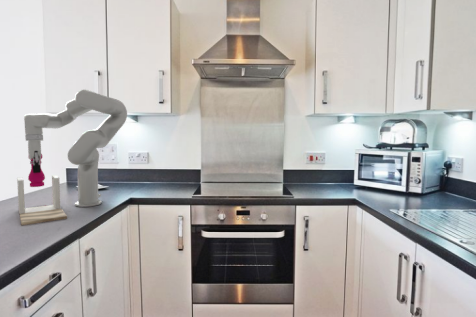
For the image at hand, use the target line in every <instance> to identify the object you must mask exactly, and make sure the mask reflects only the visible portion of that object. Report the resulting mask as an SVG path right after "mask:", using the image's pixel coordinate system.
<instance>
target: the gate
mask: <svg viewBox="0 0 476 317" xmlns="http://www.w3.org/2000/svg"><path fill="white" fill-rule="evenodd" d="M16 181H17V201H18V202H17V203H18V206H17V207H18V214H19V216H20V214H22V213H30V212H37V211H45V210H53V209H61V193H60V192H61V188H60V187H61V186H60V185H61V184H60V177H59V176H58V175H57V174H55V175H51V189H52V190H51V192H52V195H51V196H52V204H50V205H42V206H34V207H25V203H26V202H25V182H24V178H23V177H17V178H16Z"/></svg>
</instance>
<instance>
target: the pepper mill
mask: <svg viewBox="0 0 476 317" xmlns="http://www.w3.org/2000/svg"><path fill="white" fill-rule="evenodd" d="M34 155H35V153H34ZM27 158H29V155H28V157H27ZM34 159H35V158H34ZM39 159H40V156H39ZM42 159H43V154H42V153H41V159H40V168H41V172H40V173H33V158H32V159H31V160H29V162H30V163H29V164H30V165H31V167H30V168H31V169H30V172H29V174H28V177H27V178H28V179H27V180H28V181H29V182H30V183H29V187H30V188H39V187H44V186H45V179H46V176H45V173H44V172H43V169H42V167H41V165H42V163H43V162H42Z"/></svg>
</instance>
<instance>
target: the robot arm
mask: <svg viewBox="0 0 476 317" xmlns="http://www.w3.org/2000/svg"><path fill="white" fill-rule="evenodd" d="M74 96H75V97H74V99H72V100H69V101H67V102H66V104H65V109H63V111H60V112H58V113H56V114H55V113H54V114H52V113H37V114H36V113H27V114H25V115H24V118H23V119H24V120H23V121H24V136H25V142H27V148H28V150H27V151H28V156H29V157H28V159H29V161H31V159H32V158H33V173H40V172H41V169H42V167H41V168H40V159H41V154H42V144H41V143H42V142H41V141H44V132H43V131H44V130H43V129H61V128H63V127H65V126H67V125H69V124H71V123H74V121H75V120H76V119H77V118H78V117H80V116H82V115H84V114H87V113H89V112H91V111H95V112H98V113H101V114H103V115H104V114H105V115H109V116H108V117H107V118H105V119H104V120H103V121H102V123H100V124H99V126H98V127H97V128H96V129H89V130H86V131H85V132H83V133H81V135H80V136H79V137H78V139H76V141H75V142H74V143H73V144H72V146H71V147H70V148H69V150H68V152H67V159H68V161H69V162H70V164H73V165H74V166H75V165H76V166H78V167H77V199H78V200H77V201H76V202H74V206H75V207H80V208H81V207H82V208H85V207H96V206H98V205H101V204H102V200H100V199H99V198H101V197H102V194H101V193H99V177H98V176H99V170H98V169H99V161H100V153H99V151H98V149H103V148H106V146H108V144H109V143H110V141H111V140H112V139H113V138H114V137H115V136H116V134H117V133H118V131H120V130H121V128H122V127H123V126H124V124H125V122H127V121H126V120H127V118H128V110H127V108H126V106H125V104H124V103H123V102H122V101H120V100H119V99H116V98H113V97H110V96H106V95H103V94H100V93H97V92H95V91H92V90H89V89H81V90H79V91H77V92H76V93H75V95H74ZM34 153H35V155H34ZM39 156H40V159H39ZM34 158H35V159H34ZM41 160H42V159H41Z"/></svg>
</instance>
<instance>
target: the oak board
mask: <svg viewBox="0 0 476 317" xmlns="http://www.w3.org/2000/svg"><path fill="white" fill-rule="evenodd" d="M19 219H20V224H21V226H26V225H32V224H33V225H34V224H40V223H45V222H46V223H47V222H53V221H58V220H59V221H60V220H66V219H68V215H67V214H66V213H65V211H64V210H63V209H62V208H60V209H53V210H45V211H37V212H30V213H22V214H20V215H19Z"/></svg>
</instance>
